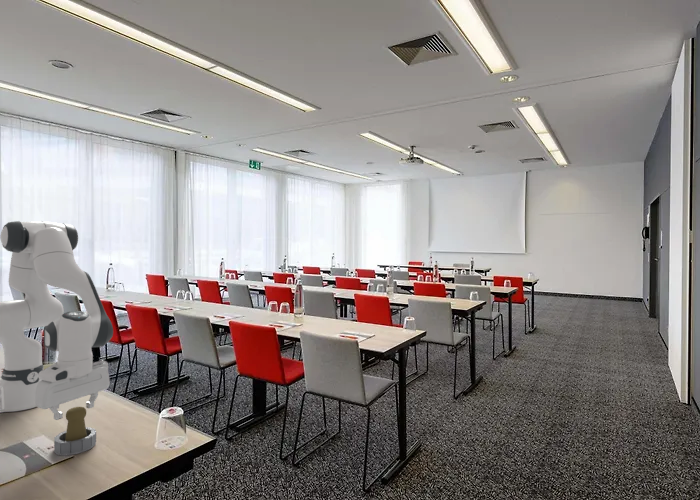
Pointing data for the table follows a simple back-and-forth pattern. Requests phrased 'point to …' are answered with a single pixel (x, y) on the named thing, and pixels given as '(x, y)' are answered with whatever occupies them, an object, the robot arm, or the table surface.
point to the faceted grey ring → (74, 443)
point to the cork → (76, 424)
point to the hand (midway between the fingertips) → (74, 413)
